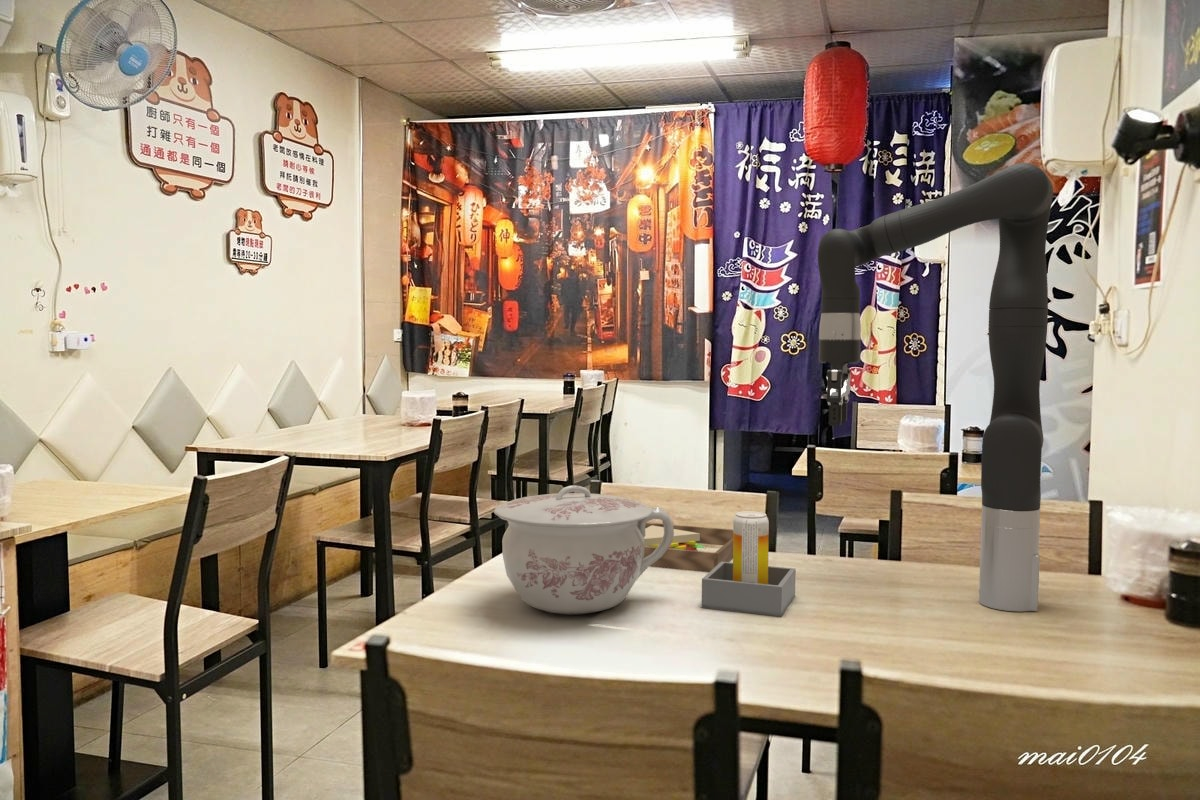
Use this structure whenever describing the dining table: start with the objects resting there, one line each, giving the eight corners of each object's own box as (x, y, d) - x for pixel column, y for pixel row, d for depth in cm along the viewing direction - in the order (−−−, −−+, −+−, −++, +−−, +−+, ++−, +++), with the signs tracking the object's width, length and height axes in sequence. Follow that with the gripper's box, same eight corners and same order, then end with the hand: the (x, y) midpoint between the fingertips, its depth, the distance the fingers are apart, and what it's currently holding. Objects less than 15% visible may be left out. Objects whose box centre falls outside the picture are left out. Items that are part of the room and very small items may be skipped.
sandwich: (592, 555, 199) (592, 532, 198) (664, 544, 209) (664, 522, 209) (634, 570, 186) (634, 545, 186) (708, 557, 197) (708, 534, 196)
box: (795, 596, 166) (795, 568, 165) (781, 616, 153) (781, 587, 153) (720, 588, 171) (721, 561, 170) (701, 607, 158) (701, 578, 158)
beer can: (766, 594, 165) (767, 511, 164) (769, 604, 159) (770, 517, 158) (732, 593, 165) (732, 510, 164) (733, 603, 159) (734, 516, 158)
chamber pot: (461, 613, 154) (460, 489, 153) (546, 576, 179) (546, 470, 177) (610, 639, 141) (611, 504, 140) (680, 595, 166) (681, 481, 164)
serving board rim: (744, 548, 204) (745, 530, 203) (717, 573, 181) (718, 553, 181) (641, 539, 212) (641, 522, 212) (603, 562, 190) (603, 543, 190)
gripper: (856, 337, 165) (854, 428, 166) (864, 338, 178) (862, 421, 179) (813, 337, 168) (811, 426, 169) (824, 337, 181) (822, 420, 182)
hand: (837, 423), depth 174 cm, fingers open, 8 cm apart
